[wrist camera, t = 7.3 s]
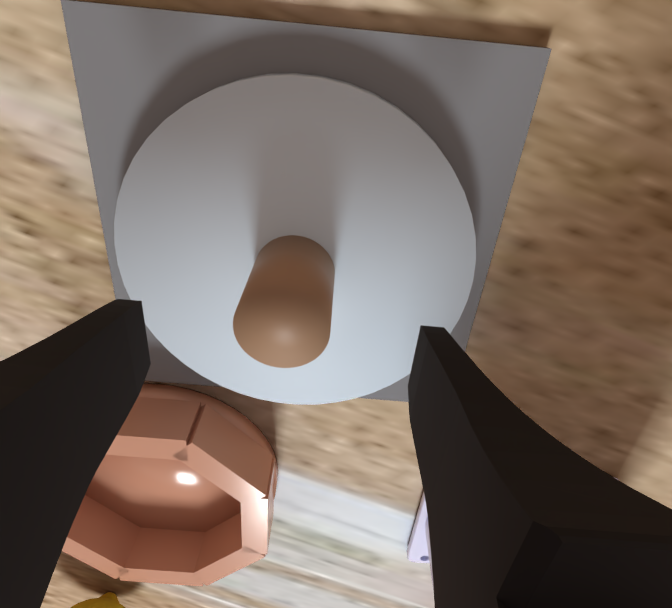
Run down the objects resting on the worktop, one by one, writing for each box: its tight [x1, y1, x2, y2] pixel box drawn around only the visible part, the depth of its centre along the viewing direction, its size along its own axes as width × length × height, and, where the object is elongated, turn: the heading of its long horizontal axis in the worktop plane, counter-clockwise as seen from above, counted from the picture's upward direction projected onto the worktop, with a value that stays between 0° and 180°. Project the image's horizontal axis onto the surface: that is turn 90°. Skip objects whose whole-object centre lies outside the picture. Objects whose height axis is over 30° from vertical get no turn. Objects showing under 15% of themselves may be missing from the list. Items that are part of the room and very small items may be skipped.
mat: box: [61, 0, 551, 402], centre depth 18 cm, size 14×14×1 cm
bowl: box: [62, 383, 278, 586], centre depth 23 cm, size 11×11×3 cm
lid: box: [114, 73, 476, 404], centre depth 16 cm, size 12×12×4 cm
